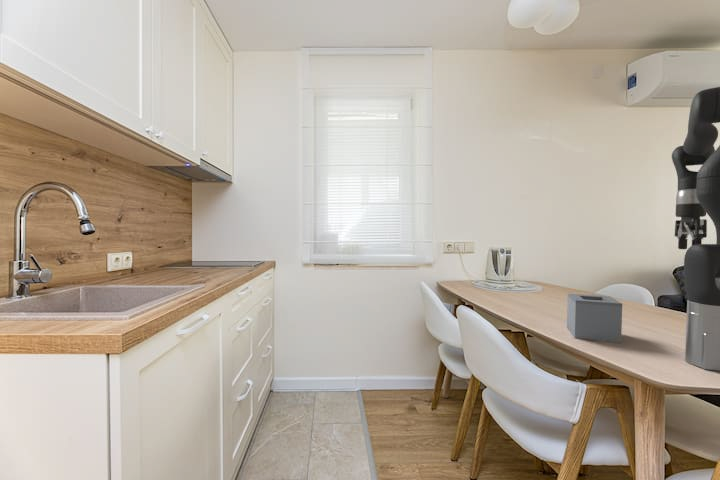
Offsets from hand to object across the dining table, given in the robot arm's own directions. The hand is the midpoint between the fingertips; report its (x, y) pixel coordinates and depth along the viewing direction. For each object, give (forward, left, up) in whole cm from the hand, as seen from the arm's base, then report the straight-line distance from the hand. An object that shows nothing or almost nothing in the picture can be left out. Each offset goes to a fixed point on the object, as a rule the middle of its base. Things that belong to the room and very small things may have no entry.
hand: (689, 249), depth 115 cm
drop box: (-11, +30, -30) cm, 44 cm away
